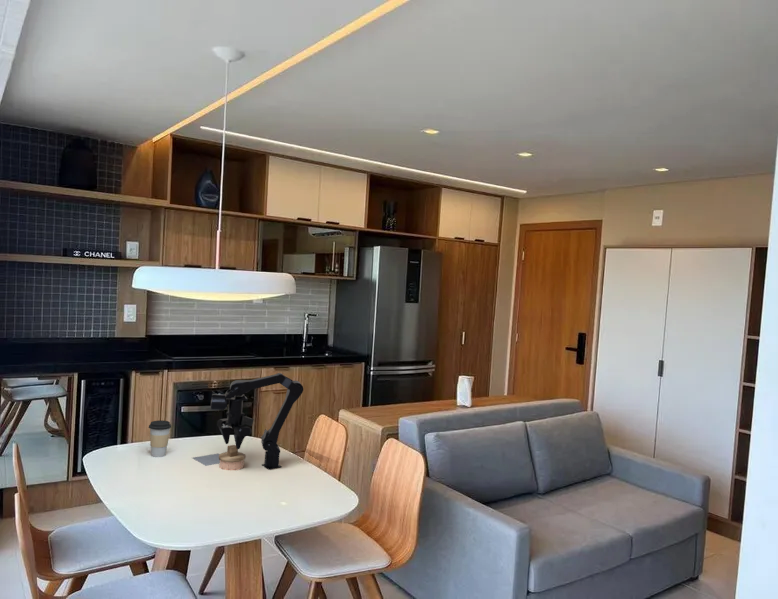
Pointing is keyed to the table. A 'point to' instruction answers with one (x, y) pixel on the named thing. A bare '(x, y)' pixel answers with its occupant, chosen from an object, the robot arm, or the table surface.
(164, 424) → the coffee cup
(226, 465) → the bowl
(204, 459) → the mat
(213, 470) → the table surface
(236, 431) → the robot arm
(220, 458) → the lid
